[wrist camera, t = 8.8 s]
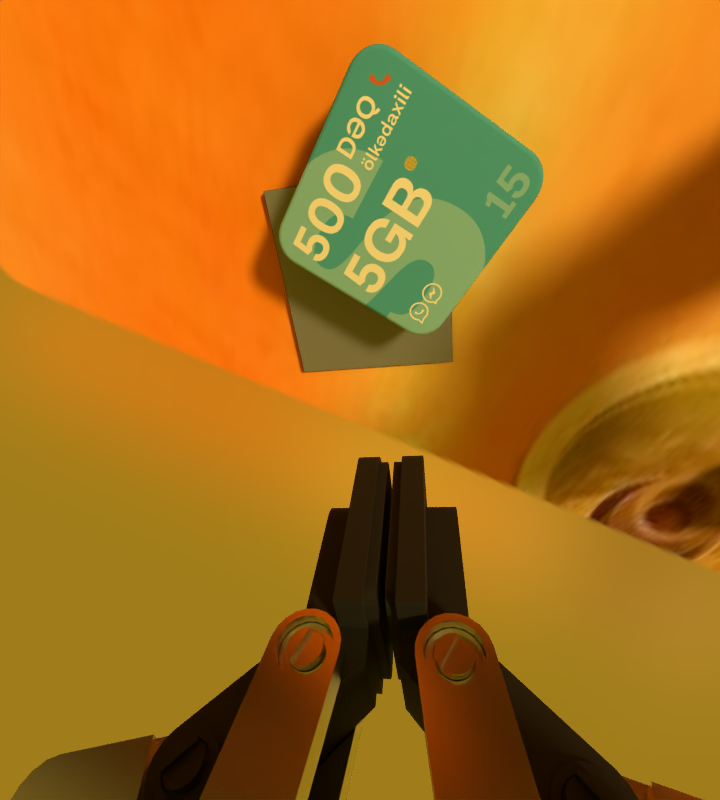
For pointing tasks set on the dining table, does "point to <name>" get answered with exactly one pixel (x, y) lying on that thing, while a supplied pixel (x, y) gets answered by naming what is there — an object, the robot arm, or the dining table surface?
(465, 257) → the teal square box
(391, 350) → the mat
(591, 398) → the dining table surface
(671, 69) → the dining table surface
